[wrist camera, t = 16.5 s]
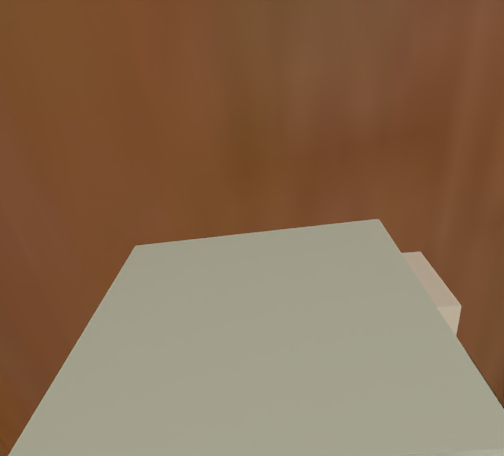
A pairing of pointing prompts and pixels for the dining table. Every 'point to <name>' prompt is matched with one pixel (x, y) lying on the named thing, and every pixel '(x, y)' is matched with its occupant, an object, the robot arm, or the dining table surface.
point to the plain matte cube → (268, 356)
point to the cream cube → (435, 288)
